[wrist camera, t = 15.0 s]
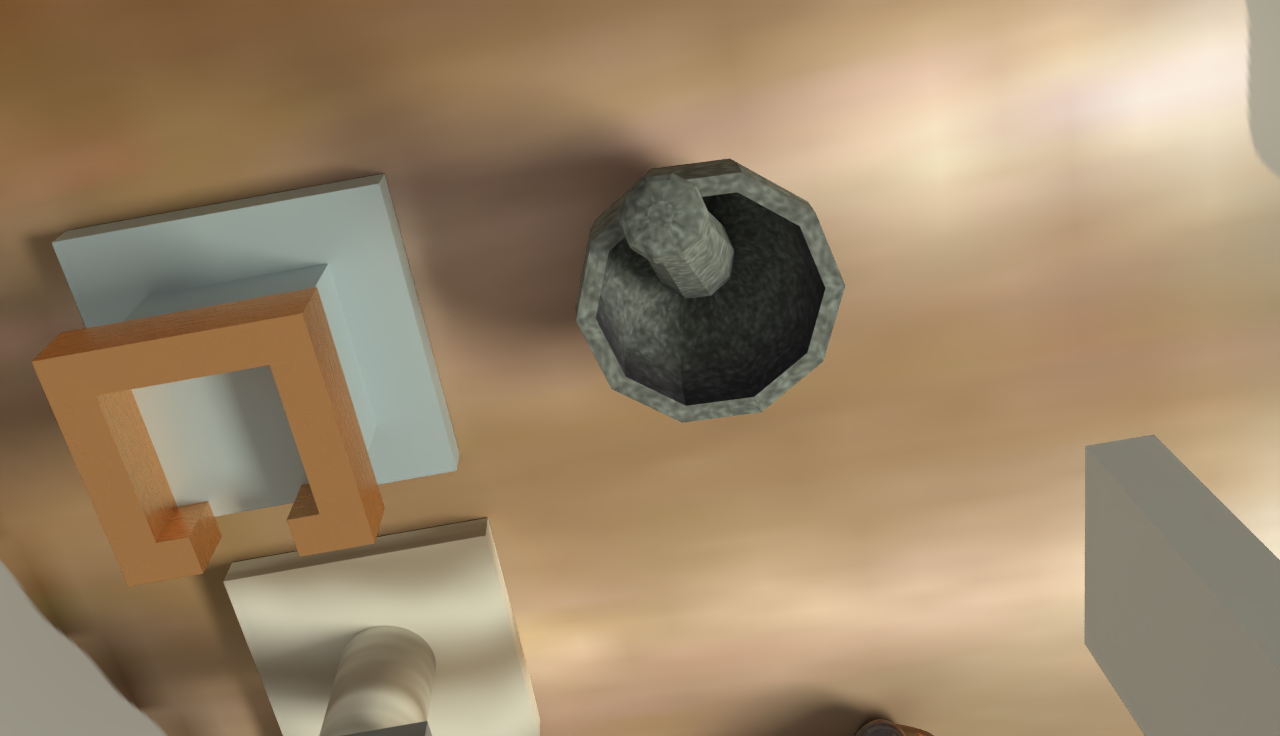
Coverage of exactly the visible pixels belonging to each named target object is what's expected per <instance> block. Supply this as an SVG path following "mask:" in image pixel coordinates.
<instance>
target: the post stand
mask: <svg viewBox="0 0 1280 736" xmlns="http://www.w3.org/2000/svg"><path fill="white" fill-rule="evenodd" d="M223 582H224V585H225V587H226V590H227V593H228V595H229V598H230V600H231V603H232V605H233V608H234V611H235V613H236V616H237V618H238V621H239V623H240V626H241V629H242V631H243V634H244V636H245V639H246V642H247V644H248V647H249V649H250V652H251V654H252V657H253V660H254V662H255V665H256V667H257V670H258V673H259V675H260V678H261V680H262V683H263V685H264V688H265V691H266V693H267V696H268V698H269V701H270V703H271V706H272V709H273V711H274V714H275V716H276V719H277V722H278V724H279V727H280V729H281V732H282V734H283V736H540V715H539V712H538V708H537V704H536V700H535V696H534V692H533V689H532V685H531V681H530V677H529V673H528V670H527V666H526V662H525V658H524V654H523V651H522V647H521V643H520V639H519V635H518V631H517V628H516V624H515V620H514V616H513V612H512V609H511V605H510V601H509V597H508V593H507V589H506V586H505V582H504V578H503V574H502V570H501V567H500V563H499V559H498V555H497V551H496V548H495V544H494V540H493V536H492V532H491V528H490V525H489V521H488V518H484V519H478V520H472V521H466V522H461V523H455V524H449V525H444V526H438V527H432V528H427V529H421V530H415V531H409V532H404V533H398V534H392V535H387V536H381V537H376V541H375V544H369V545H364V546H358V547H352V548H347V549H341V550H335V551H329V552H324V553H318V554H312V555H307V556H301V557H300V556H299V553H298V551H295V552H290V553H284V554H278V555H273V556H267V557H261V558H256V559H250V560H244V561H238V562H233V563H232V564H231V566H230V568H229V570H228V572H227V575H226V577H225V579H224V581H223Z"/></svg>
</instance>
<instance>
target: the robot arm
mask: <svg viewBox="0 0 1280 736" xmlns="http://www.w3.org/2000/svg"><path fill="white" fill-rule="evenodd" d="M1085 645H1086V646H1087V648H1088V649H1089V651H1090V652H1091V654H1092V656H1093V657H1094V659H1095V660H1096V662H1097V663H1098V665H1099V666H1100V668H1101V669H1102V671H1103V672H1104V674H1105V675H1106V677H1107V679H1108V680H1109V682H1110V683H1111V685H1112V686H1113V688H1114V689H1115V691H1116V692H1117V694H1118V695H1119V697H1120V698H1121V700H1122V702H1123V703H1124V705H1125V706H1126V708H1127V709H1128V711H1129V712H1130V714H1131V715H1132V717H1133V718H1134V720H1135V721H1136V723H1137V725H1138V726H1139V728H1140V729H1141V731H1142V732H1143V734H1144V735H1145V736H1280V560H1279V559H1278V558H1277V557H1276V556H1275V555H1274V554H1273V553H1272V552H1271V551H1270V550H1269V549H1268V548H1267V547H1266V546H1265V545H1264V544H1263V543H1262V542H1261V541H1260V540H1259V539H1258V538H1257V537H1256V536H1255V535H1254V534H1253V533H1252V532H1251V531H1250V530H1249V529H1248V528H1247V527H1246V526H1245V525H1244V524H1243V523H1242V522H1241V521H1240V520H1239V519H1238V518H1237V517H1236V516H1235V515H1234V514H1233V513H1232V512H1231V511H1230V510H1229V509H1228V508H1227V507H1226V506H1225V505H1224V504H1223V503H1222V502H1221V501H1220V500H1219V499H1218V498H1217V497H1216V496H1215V495H1214V494H1213V493H1212V492H1211V491H1210V490H1209V489H1208V488H1207V487H1206V486H1205V485H1204V484H1203V483H1202V482H1201V481H1200V480H1199V479H1198V478H1197V477H1196V476H1195V475H1194V474H1193V473H1192V472H1191V471H1190V470H1189V469H1188V468H1187V467H1186V466H1185V465H1184V464H1183V463H1182V462H1181V461H1180V460H1179V459H1178V458H1177V457H1176V456H1175V455H1174V454H1173V453H1172V452H1171V451H1170V450H1169V449H1168V448H1167V447H1166V446H1165V445H1164V444H1163V443H1162V442H1161V441H1160V440H1159V439H1158V438H1157V437H1156V436H1155V435H1148V436H1142V437H1136V438H1130V439H1125V440H1119V441H1113V442H1107V443H1101V444H1095V445H1089V446H1085Z"/></svg>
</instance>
